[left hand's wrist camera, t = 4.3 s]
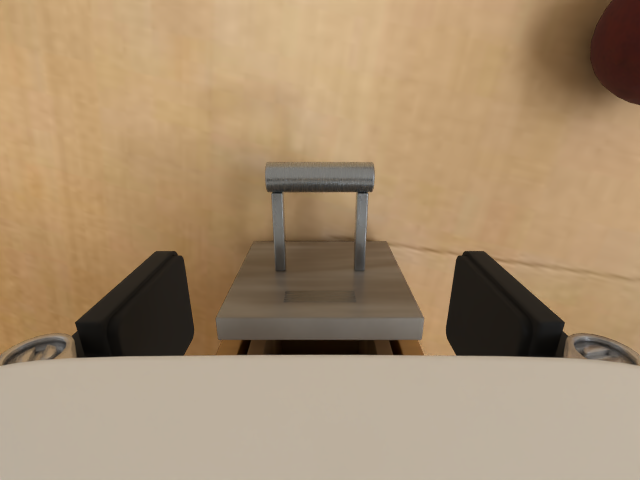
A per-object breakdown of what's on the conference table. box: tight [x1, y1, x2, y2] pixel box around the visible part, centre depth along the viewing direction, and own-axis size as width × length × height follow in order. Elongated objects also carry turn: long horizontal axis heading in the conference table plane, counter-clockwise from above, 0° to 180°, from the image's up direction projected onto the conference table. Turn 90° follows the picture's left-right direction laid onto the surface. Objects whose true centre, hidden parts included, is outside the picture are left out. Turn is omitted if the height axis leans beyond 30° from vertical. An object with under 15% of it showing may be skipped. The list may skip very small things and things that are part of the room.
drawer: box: [216, 162, 424, 355], centre depth 22 cm, size 22×9×10 cm, turn 0°
